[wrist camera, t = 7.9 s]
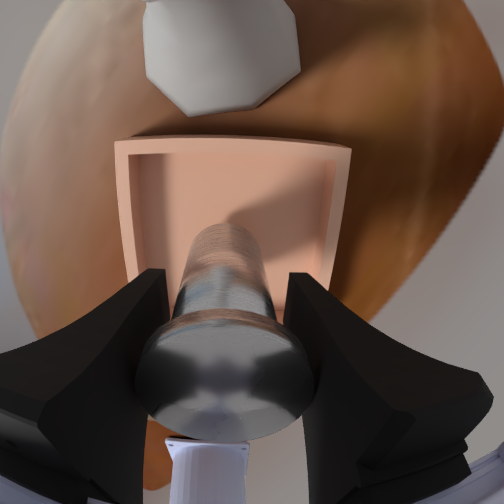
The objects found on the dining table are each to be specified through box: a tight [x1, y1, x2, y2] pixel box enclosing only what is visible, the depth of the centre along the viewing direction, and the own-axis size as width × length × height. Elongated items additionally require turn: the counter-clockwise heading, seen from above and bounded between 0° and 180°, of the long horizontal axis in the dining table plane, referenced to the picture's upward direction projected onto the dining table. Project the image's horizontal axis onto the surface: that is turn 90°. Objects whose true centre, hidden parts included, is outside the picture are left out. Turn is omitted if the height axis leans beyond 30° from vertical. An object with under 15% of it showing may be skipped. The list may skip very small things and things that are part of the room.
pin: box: [135, 223, 315, 442], centre depth 10 cm, size 4×4×8 cm
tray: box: [115, 135, 352, 325], centre depth 14 cm, size 10×10×2 cm
